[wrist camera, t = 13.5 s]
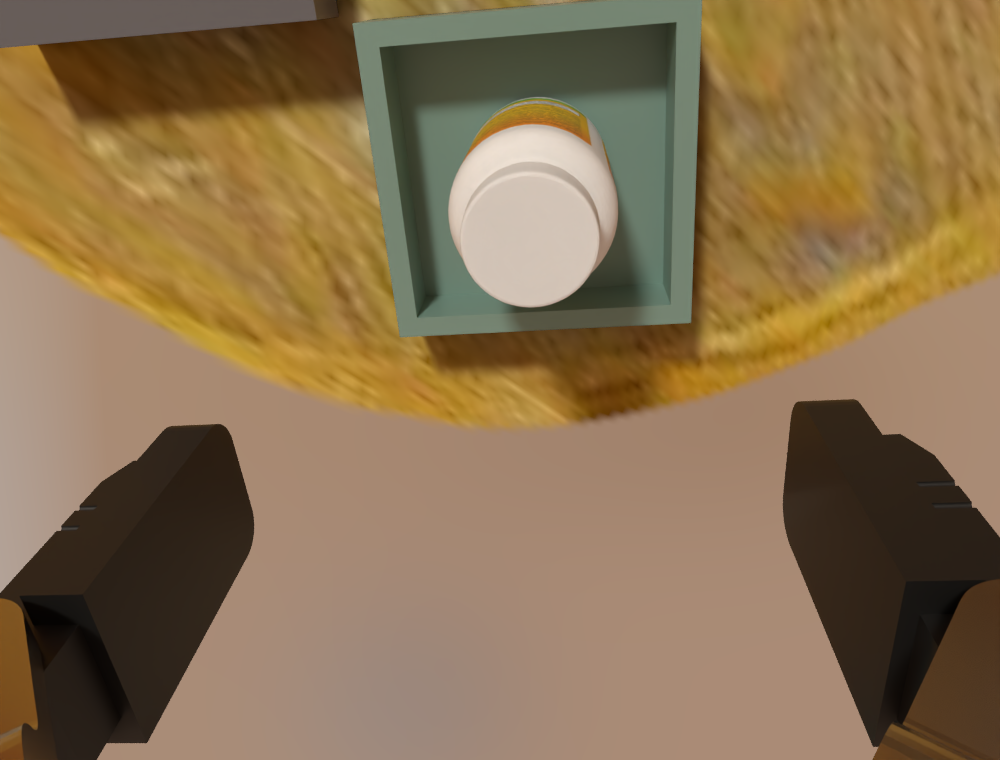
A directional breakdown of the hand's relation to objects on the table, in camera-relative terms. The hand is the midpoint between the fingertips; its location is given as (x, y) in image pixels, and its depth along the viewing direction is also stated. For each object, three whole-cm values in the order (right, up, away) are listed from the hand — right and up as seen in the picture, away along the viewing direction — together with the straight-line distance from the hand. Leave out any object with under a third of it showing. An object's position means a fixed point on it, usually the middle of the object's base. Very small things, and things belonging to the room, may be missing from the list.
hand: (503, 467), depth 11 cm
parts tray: (+1, +10, +20) cm, 22 cm away
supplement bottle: (+1, +10, +19) cm, 22 cm away
